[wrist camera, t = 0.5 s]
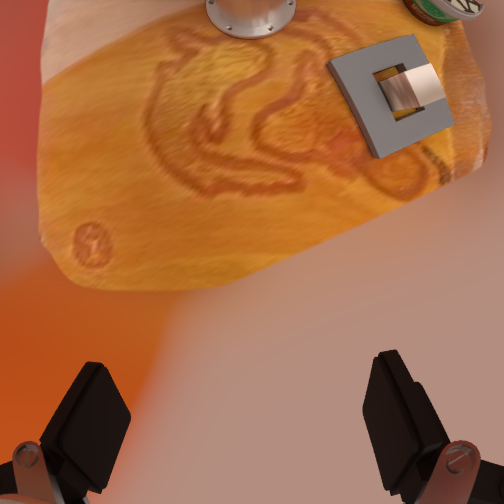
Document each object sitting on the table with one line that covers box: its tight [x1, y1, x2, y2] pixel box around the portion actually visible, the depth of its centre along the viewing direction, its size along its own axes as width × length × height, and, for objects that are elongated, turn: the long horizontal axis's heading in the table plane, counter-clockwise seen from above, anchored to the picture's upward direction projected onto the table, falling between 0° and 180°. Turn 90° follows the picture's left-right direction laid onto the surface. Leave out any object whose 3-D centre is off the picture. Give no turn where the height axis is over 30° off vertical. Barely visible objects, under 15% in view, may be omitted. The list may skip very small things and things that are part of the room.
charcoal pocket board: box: [326, 34, 455, 159], centre depth 34 cm, size 15×15×2 cm
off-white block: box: [377, 63, 446, 111], centre depth 31 cm, size 4×4×10 cm
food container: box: [403, 0, 484, 26], centre depth 25 cm, size 12×6×10 cm, turn 73°
